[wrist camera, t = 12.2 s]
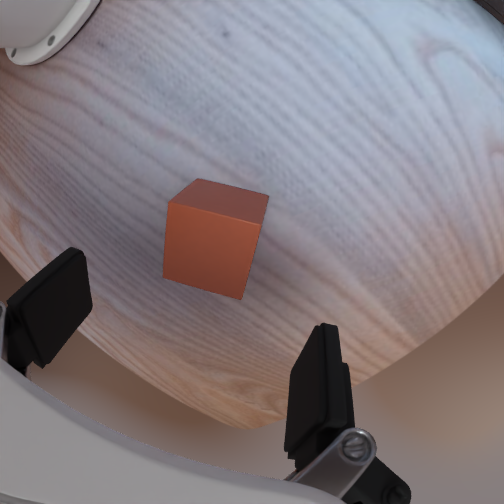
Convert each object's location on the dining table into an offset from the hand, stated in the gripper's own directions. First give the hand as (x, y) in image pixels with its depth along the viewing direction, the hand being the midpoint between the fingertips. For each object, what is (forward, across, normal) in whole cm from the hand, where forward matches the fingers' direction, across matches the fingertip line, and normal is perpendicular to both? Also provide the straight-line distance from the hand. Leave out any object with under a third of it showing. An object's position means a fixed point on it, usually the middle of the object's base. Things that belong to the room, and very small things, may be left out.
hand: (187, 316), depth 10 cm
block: (+8, 0, 0) cm, 8 cm away
